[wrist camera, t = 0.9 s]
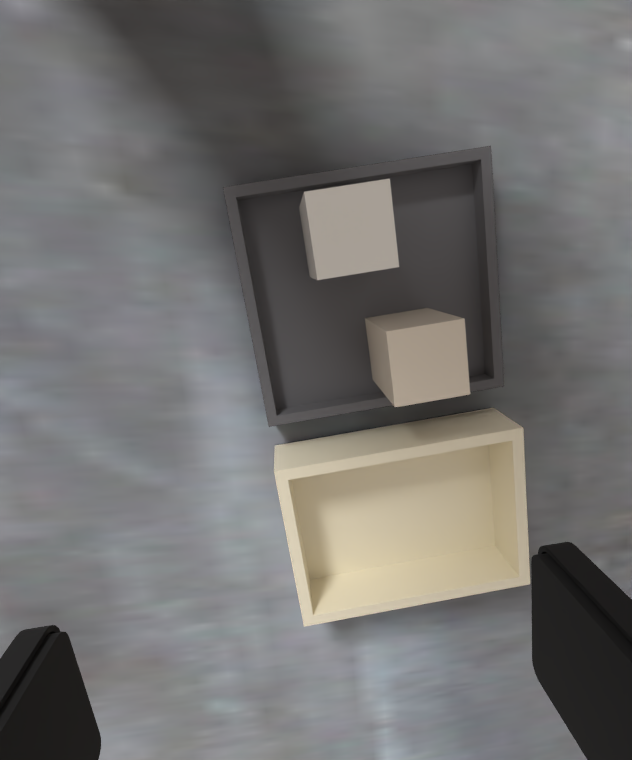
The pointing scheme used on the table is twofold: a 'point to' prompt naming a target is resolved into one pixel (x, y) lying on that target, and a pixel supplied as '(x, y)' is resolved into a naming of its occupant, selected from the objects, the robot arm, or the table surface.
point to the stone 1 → (349, 229)
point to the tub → (405, 514)
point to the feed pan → (366, 280)
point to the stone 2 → (418, 356)
